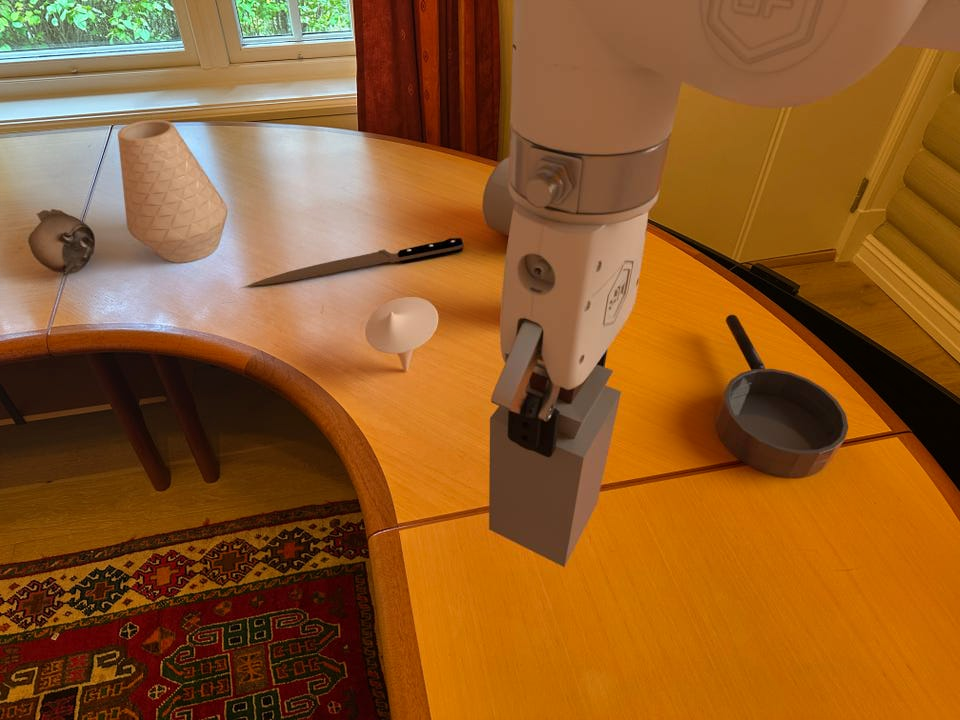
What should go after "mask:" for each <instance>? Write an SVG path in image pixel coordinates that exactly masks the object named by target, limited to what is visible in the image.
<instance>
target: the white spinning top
mask: <svg viewBox="0 0 960 720" xmlns="http://www.w3.org/2000/svg"><path fill="white" fill-rule="evenodd" d="M438 325H439V314H438V310H437V309H436V307H435V306H434V305H433V303H431V302H430V301H428V300H427V299H424V298H422V297H417V296H403V297H398V298H394V299H392V300H389V301H387V302H385V303H384V304H382V305H380V306H379V307H378V308H377V309H375V310H374V312H372V314H371V316H370V317H369V318H368V320H367V322H366V324H365V328H364V329H365V332H364V334H365V339H366V341H367V343H368V345H370V346H371V347H372V348H373V349H375V350H376V351H377V352H381V353H385V354H390V355H391V354H393V355H394V354H395V355H396V354H397V356H398V357H399V360H400V364H401V367H402V370H403V371H404V372H405V373H408V371H409V369H410V363H411V359H412V356H413V353H414V352H413V351H414V350H415V349H417V348H419V347H421V346H422V345H424V344H425V343H427V341H429V340H430V339H431V338H432V336H433V335H434V333H435V332H436V329H437V327H438Z"/></svg>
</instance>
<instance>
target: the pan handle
mask: <svg viewBox="0 0 960 720" xmlns="http://www.w3.org/2000/svg"><path fill="white" fill-rule="evenodd" d="M725 323H726V325H727V327H728V329H729V331H730V333H731V334H732V336H733V338H734V340H735V342H736V344H737V346H738V348H739V350H740V352H741V353H742V355H743V357H744V360H745V361H746V363H747V365H748V367H749V368H750V370H753V369H766V367H765V365H764V364H765V363H763V361H762V359H761V357H760V356H759V353H758V352H757V350H756V348H755V347H754V345H753V343H752V341H751V339H750V337H749V336H748V334H747V332H746V330H745V328H744V326H743V325H742V323H741V321H740V319H739V318H738V316H737V315H735V314H729V315H728V316H726V318H725Z"/></svg>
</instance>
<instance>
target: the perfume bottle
mask: <svg viewBox="0 0 960 720" xmlns="http://www.w3.org/2000/svg"><path fill="white" fill-rule="evenodd" d="M538 359H539V360H542V361H543V358H542V355H541V354H540V356H539V358H538ZM613 372H614V370H613V369H611V368H607V367H602V366H599V365H597V364H596V366H595V367H594V369H593V370H592V371H591V373H590V374H589V376H588V377H587V378H586V379H585V381H584V382H583V383H581V384H580V385H579V386H577V387H575V388H573V389H570V390H567V389H564V388H563V387H560V391H559V394H558V397H557V401H556V404H555V407H554V408H556V409H557V410H558V411H560V414H559V422H558V430H557V439H556V447H555V451H554V453H553V454H552V456H551V457H545V456H543V455H541V454H539V453H537V452H534V451H530V450H527V449H525V448H523V447H521V446H519V445H518V444H517V443H515V442H513V441H511V440H510V439H509V438H508V411H509V410H508V409H505V408H503V407H501V406H498V407H497V408H496V409H495V411H494V412H493V414H492V415H490V417H489V473H488V474H489V478H488V479H489V480H488V481H489V483H488V486H489V490H488V492H489V493H488V530H489V531H491V532H493V533H495V534H496V535H500V536H501V537H503V538H504V539H507V540H509V541H511V542H513V543H515V544H517V545H518V546H521V547H523V548H525V549H527V550H529V551H531V552H533V553H535V554H537V555H539V556H541V557H543V558H545V559H547V560H549V561H551V562H553V563H555V564H557V565H559V566H561V567H563V568H565V567H566V566H567V563H568V562H569V560H570V558H571V556H572V554H573V552H574V550H575V549H576V546H577V544H578V542H579V540H580V538H581V537H582V535H583V533H584V531H585V528H586V526H587V524H588V522H589V520H590V519H591V517H592V515H593V513H594V511H595V509H596V507H597V505H598V503H599V498H600V492H601V488H602V483H603V478H604V474H605V470H606V464H607V460H608V456H609V450H610V447H611V441H612V436H613V432H614V428H615V422H616V418H617V413H618V409H619V405H620V399H621V396H622V395H621V394H622V391H621V390H619V389H616V388H613V387H611V386H609V385H608V386H607V384H608V382H609V380H610V378H611V376H612V374H613ZM547 381H548V380H547V379H545V378H542V377H540V376H537V375H535V374H532V375H531V377H530V380H529V382H528V385H527V388H526V391H528V392H531V393H533V394H535V395H538V396H540V397H543V394H544V391H545V388H546V384H547Z"/></svg>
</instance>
